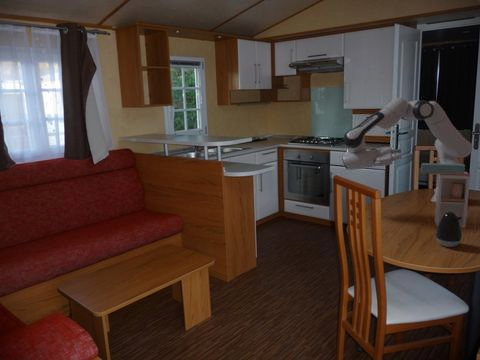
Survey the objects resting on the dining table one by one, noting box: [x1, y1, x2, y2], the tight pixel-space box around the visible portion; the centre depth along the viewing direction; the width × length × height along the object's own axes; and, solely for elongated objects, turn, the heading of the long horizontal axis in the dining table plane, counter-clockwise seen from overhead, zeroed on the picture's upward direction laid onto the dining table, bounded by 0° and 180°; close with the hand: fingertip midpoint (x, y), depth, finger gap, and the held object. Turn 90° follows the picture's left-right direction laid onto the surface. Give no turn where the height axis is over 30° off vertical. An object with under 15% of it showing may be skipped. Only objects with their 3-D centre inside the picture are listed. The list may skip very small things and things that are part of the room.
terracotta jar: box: [451, 183, 463, 199], centre depth 203 cm, size 5×5×8 cm
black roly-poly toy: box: [435, 212, 463, 248], centre depth 180 cm, size 10×10×15 cm
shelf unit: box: [434, 171, 471, 229], centre depth 205 cm, size 9×13×27 cm
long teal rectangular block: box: [420, 162, 466, 175], centre depth 204 cm, size 4×19×4 cm, turn 70°
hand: (401, 153), depth 213 cm, fingers open, 8 cm apart
